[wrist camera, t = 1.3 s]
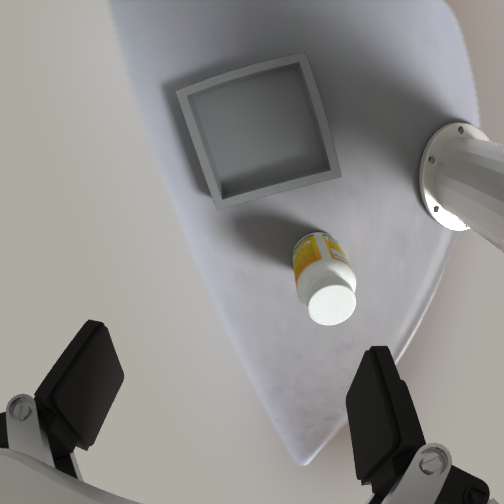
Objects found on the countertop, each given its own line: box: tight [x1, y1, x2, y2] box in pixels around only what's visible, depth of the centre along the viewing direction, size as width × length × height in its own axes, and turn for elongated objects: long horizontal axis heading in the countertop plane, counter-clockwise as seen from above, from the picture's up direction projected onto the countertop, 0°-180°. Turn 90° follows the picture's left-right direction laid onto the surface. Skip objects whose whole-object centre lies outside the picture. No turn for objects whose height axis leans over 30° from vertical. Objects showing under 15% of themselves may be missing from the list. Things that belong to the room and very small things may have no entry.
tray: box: [176, 52, 342, 210], centre depth 24 cm, size 12×12×3 cm
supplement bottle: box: [292, 232, 356, 325], centre depth 26 cm, size 5×5×10 cm
